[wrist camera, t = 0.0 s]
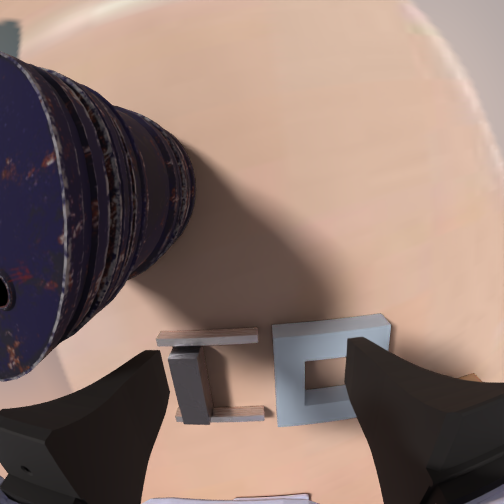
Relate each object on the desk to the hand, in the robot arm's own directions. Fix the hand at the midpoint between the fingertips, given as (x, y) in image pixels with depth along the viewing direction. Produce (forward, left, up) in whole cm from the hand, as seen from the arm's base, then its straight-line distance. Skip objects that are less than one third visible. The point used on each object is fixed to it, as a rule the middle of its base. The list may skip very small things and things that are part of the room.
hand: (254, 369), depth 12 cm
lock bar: (-7, +5, -10) cm, 13 cm away
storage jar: (+7, +8, -10) cm, 15 cm away
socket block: (-7, -5, -10) cm, 13 cm away
